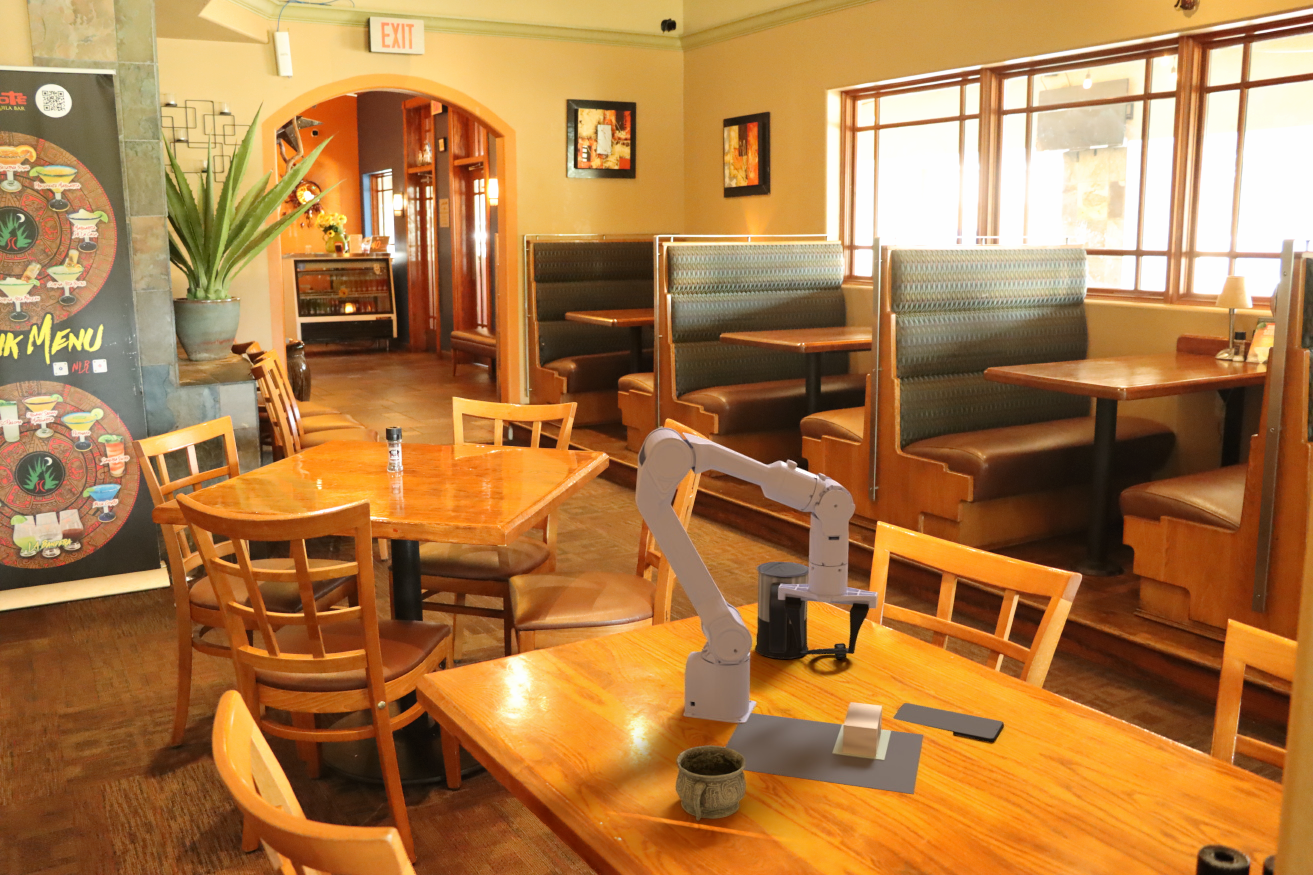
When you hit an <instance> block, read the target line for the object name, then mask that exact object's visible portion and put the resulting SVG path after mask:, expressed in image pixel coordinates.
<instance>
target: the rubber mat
mask: <svg viewBox="0 0 1313 875" xmlns="http://www.w3.org/2000/svg"><path fill="white" fill-rule="evenodd" d="M843 725H844V723H842V724H841V723H834V722H826V721H825V722H824V721H818V720H809V719H802V718H794V717H786V716H778V715H770V714H763V713H753V712H752V713H751V714H750V716H749V718H748V720H747V722H746V723H744V724H742V723H737V725H736V727H735V729H734V731H732V732H733V733H732V734H731V736H730V738H729V740H728V741H727V744H726V745H725V746H724V747H726V748H730V749H733V750H735V751H737V752H738V753H740V754H741V755H743V757H744V758H745V760H746V766H745V768H744V769H743V771H749V772H754V773H761V774H769V775H776V776H783V777H790V778H798V779H802V780H803V779H804V780H810V781H811V780H812V781H818V782H825V783H833V784H840V785H846V786H853V787H859V788H860V787H861V788H865V789H866V788H868V789H874V790H881V791H888V792H896V793H902V794H909V795H915V794H914V793H915V787H916V782H917V776H918V771H919V764H920V757H921V754H922V753H921V751H922V747H923V740H924V734H921V733H915V732H914V733H913V732H904V731H898V730H897V731H896V730H890V729H884V728H883V729H882V728H881V735H880V740H879V745H878V750H877V754H876V757H874V756H866V755H858V754H850V753H843Z"/></svg>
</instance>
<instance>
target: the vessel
mask: <svg viewBox="0 0 1313 875" xmlns="http://www.w3.org/2000/svg"><path fill="white" fill-rule="evenodd" d="M676 765H677V769H678V772H677V775H676V776H677V777H676V780H675V785H674V786H675V791H676V793H677V796H678V798H679V799H680V800H681V802H680V803H681V804H680V805H681V807H682V809H683V810H684V811H685V812H686V813H687V814H689V815H692V816H695V820H696V821H700V820H701V818H703V819H720V818H725V817H728V816H731V815H733V814H735V813H736V812H737V811H738V810H739V809H740V803H739V802H740V801H741V800H742V799H744V797H745V795H746V784H747V783H746V778H745V773H744V770H743V769H744V768H745V766H746V760H745V758H744V757H743V755H741V754H740V753H738V752H737V751H735V750H733V749H730V748H726V747H725V746H720V745H702V746H695V747H691V748H687V749H685V750H683V751H682V752H680V753H679V754H678V755H677V757H676Z"/></svg>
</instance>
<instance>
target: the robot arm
mask: <svg viewBox="0 0 1313 875" xmlns="http://www.w3.org/2000/svg"><path fill="white" fill-rule="evenodd" d="M682 434H683V436H684V437H685V439H684V437H683V436H682V435H681V434H680V433H679V432H678V431H677V430H675V429H673V428H671V427H659V428H656V429H654V430H652V431H651V432H650V433H649V434H647V436H646V437H645V439H644V441H643V443H642V445H641V447H640V450H639V452H638V454H637V473H636V487H635V499H634V500H635V504H636V507H637V509H638V512H639V513H640V515H641V517H642V519H643V520H644V523H645V524H646V526H647V528H648V529H649V531H650V532H651V534H652V536H653V538H654V539H655V541H656V543H657V546H659V549H660V550H661V552H662V554H663V555H664V557H665V558H666V561H667V563H668V564H669V566H670V568H671V570H672V571H673V573H674V575H675V576H676V578H677V580H678V582H679V583H680V585H681V587H682V589H683V590H684V592H685V594H686V596H687V598H688V599H689V601H690V602H691V603H690V604H692V606H693V607H694V609H695V612H696V613H697V615H698V617H699V619H700V629H701V631H702V633H703V635H704V637H705V638H706V642H705V644H704V646H703V647H702V649H701V651H691V652H690V653H689V654H688V656H687V659H686V663H685V671H684V712H683V713H682V714H683V716H684V717H686V718H687V717H688V718H695V719H702V720H709V721H718V722H723V723H724V722H725V723H732V724H733V723H734V724H738V723H742V724H744V723H746V722H747V720H748V718H749V716H750V714H751V713H753V711H754V709H755V707H756V706H757V701H755V700H750V691H751V690H750V685H751V683H750V681H751V680H750V676H751V674H750V673H751V672H750V671H751V649H752V647H753V637H752V634H751V632H750V630H749V629H748V627H747V626H746V625H745V624H746V623H744V621H743V619H742V615H741V613H740V611H739V610H738V609H737V608H736V607H735V606H733V605H732V604H730V603H729V602H728V601H727V600H725V597H724V596H723V594H722V592H721V591H720V589H719V588H718V585H717V584H716V583H715V580H714V579H713V578H714V577H712V574H710V571H709V570H708V568H707V566H706V564H705V563H704V561H703V559H702V556H700V554H699V552H698V550H697V549H696V546H695V544H693V541H692V540H691V538H690V535H689V534H688V532H687V530H686V529H685V527H684V525H683V524H682V521H681V520H680V519H679V516H678V515H677V513H676V511H675V510H674V508H673V506H672V501H673V499H674V496H675V494H676V490H677V488H678V486H679V485H680V483H681V482H683V480H684V479H685V478H686V477H687V476H688V474H689V472H691V471H692V472H693V474H694V475H697V474H700V473H701V474H702V473H704V472H707V471H709V470H714V471H717V472H720V473H722V474H723V473H724V474H727V475H728V476H732V477H735V478H737V479H740V480H743V481H746V482H748V483H752V484H755V485H757V486H760V488H761V491H762V494H763V496H764V497H765V498H767V499H770V500H772V501H775V502H777V503H780V504H781V505H785V506H787V507H790V508H793V509H795V510H798V511H799V512H804V513H810V512H811V513H810V529H809V541H808V542H809V545H808V548H809V549H808V550H809V551H808V554H809V555H808V567H809V573H808V584H780V586H779V587H778V599H779V600H785V604H784V609H785V611H786V613H787V615H788V617H789V619H790V621H791V624H792V626H793V629H794V633H795V637H796V642H797V648H802V647H803V645H804V612H805V601H807V602H818V603H826V604H837V605H838V604H839V605H847V606H848V605H849V606H851V607H850V610H849V639H848V640H849V641H848V648H849V654H853V655H854V654H855V652H856V644H857V640H858V635H859V632H860V629H861V627H862V625H863V623H864V621H865V619H866V617H867V616H868V613H869V610H870V609H875V610H876V609H877V607H878V598H879V597H878V595H879V594H878V592H877V591H869V590H864V589H860V588H854V587H848V576H849V575H848V574H849V572H848V570H849V542H850V541H849V539H850V538H849V537H850V534H849V533H850V532H849V521H850V520H851V518H852V517H853V515H854V513H855V510H856V504H855V503H854V500H853V496H852V494H851V492H850V491H849V490H848V489H847V488H845V487H844V486H843V485H842V484H840V483H839V482H837V481H836V480H834V479H832V478H831V477H830V476H827V475H825V474H823V473H821V472H818V474H815V473H812V472H810V471H807V470H805V469H803V468H800V467H797V466H798V463H797V462H795V461H793V460H790V459H787V460H786V462H784V461H783V460H777V461H774V462H773V463H769V464H765V463H763V462H761V461H758V460H757V459H754V458H752V457H749V456H747V455H744V454H743V453H740V452H737V451H736V450H733V449H731V448H728V447H726V446H724V445H721V444H719V443H717V442H714V441H713V440H710V439H706V438H704V437H700V436H698V435H695V434H691V433H687V432H682ZM849 654H848V655H849Z"/></svg>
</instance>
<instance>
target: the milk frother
mask: <svg viewBox="0 0 1313 875" xmlns="http://www.w3.org/2000/svg"><path fill="white" fill-rule="evenodd" d="M756 570H757V572H758V575H757V576H758V577H757V579H758V582H757V586H758V587H757V617H756V618H757V622H756V623H757V627H756V628H757V631H756V641H755V642H756V645H755V651H756V652H757V653H758V654H759V655H762V656H764V657H767V658H771V659H778V660H779V659H780V660H790V659H797V658H798V659H799V658H801V657H804V656H805V655H806V656H807V655H809V656H810V655H834V657H835V659H837V660H840V659H841V660H843V659H847V654H848V655H849V647H846V646H847V645H846V644H845V643H843V642H841V643H835V644H834V645H833V647H829V648H828V647H827V648H816V649H809V647H808V601H805V612H804V645H803V647H802V648H797V642H796V637H795V633H794V629H793V626H792V624H791V621H790V619H789V617H788V615H787V613H786V611H785V609H784V604H785V600H779V599H778V587H779V586H780V584H808V579H809V566H807V565H804V564H802V563H797V562H793V561H792V562H791V561H771V562H770V561H769V562H765V563H761V564H758V565H757V567H756Z"/></svg>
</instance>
